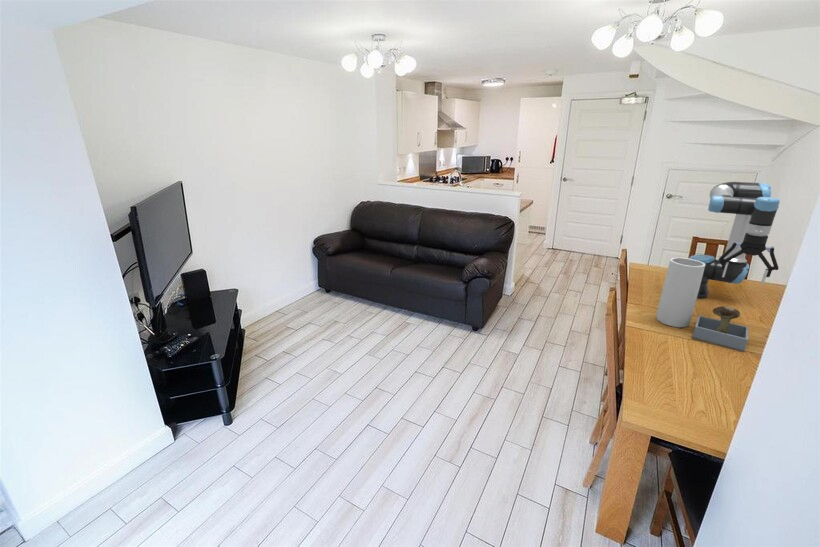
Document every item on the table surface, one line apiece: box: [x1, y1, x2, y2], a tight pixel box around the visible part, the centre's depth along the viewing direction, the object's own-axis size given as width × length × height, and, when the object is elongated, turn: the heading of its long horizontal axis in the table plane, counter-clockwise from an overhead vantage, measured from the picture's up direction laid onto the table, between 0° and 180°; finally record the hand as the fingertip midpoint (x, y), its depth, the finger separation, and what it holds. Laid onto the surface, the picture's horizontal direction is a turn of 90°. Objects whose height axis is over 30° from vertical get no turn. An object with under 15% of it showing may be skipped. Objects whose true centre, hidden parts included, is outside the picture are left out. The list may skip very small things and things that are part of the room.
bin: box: [691, 315, 749, 353], centre depth 176 cm, size 15×19×6 cm
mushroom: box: [712, 305, 741, 334], centre depth 174 cm, size 9×9×15 cm
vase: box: [655, 257, 705, 328], centre depth 187 cm, size 14×14×32 cm
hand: (742, 279), depth 173 cm, fingers open, 13 cm apart
